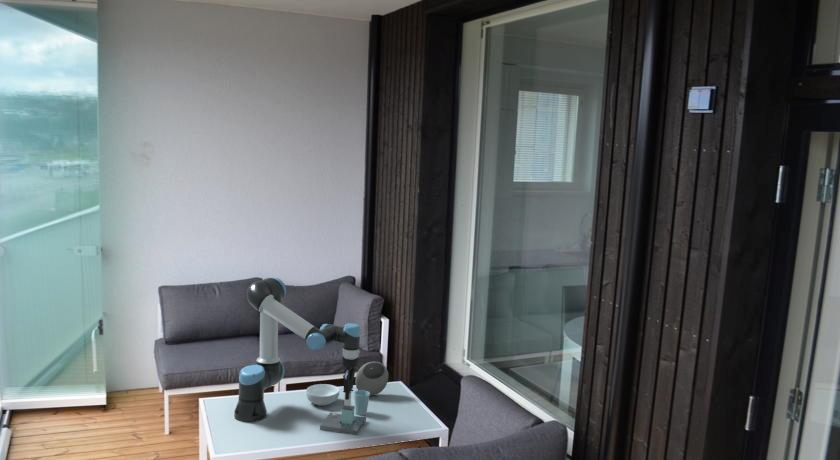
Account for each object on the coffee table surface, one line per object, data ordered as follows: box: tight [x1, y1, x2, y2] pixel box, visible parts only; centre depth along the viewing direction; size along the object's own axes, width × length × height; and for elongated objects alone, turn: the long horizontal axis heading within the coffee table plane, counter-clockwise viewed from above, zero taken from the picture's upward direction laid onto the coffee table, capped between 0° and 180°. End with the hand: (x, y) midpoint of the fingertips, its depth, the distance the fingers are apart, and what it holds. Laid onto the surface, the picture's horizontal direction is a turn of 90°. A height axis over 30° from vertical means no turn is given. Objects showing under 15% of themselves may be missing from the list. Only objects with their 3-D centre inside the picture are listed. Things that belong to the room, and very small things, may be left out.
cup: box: [353, 390, 371, 416], centre depth 347 cm, size 8×8×10 cm
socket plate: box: [319, 412, 367, 436], centre depth 332 cm, size 18×16×3 cm
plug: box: [341, 404, 355, 425], centre depth 331 cm, size 5×4×9 cm
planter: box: [354, 361, 389, 397], centre depth 370 cm, size 18×7×19 cm, turn 115°
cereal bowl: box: [305, 383, 340, 407], centre depth 357 cm, size 17×17×7 cm
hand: (347, 405), depth 331 cm, fingers closed
